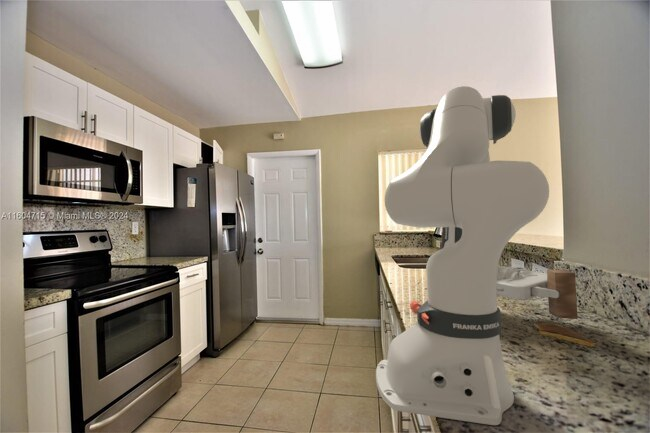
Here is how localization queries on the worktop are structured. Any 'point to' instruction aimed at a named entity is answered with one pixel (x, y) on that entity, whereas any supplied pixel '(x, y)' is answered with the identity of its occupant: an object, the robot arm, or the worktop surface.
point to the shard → (563, 333)
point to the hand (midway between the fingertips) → (566, 292)
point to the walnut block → (562, 294)
